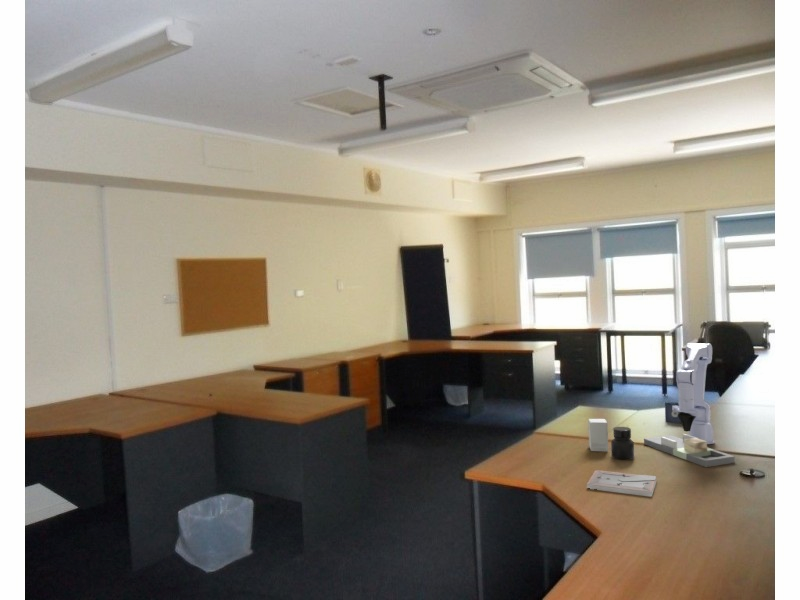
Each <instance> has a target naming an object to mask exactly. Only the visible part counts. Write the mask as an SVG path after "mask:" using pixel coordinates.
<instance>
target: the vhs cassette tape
mask: <svg viewBox="0 0 800 600" xmlns="http://www.w3.org/2000/svg"><path fill="white" fill-rule="evenodd" d="M672 406H679V402H673V401H672V402H671V401H665V402H664V412H665V413H664V417H665V418H664V421H665V423H674V424H682V423H681V420H680V419H679V417H678V414H680V412H678V411H673V410H672ZM694 408H697V407H694ZM705 409H706V408H705Z"/></svg>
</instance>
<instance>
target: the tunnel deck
mask: <svg viewBox="0 0 800 600" xmlns="http://www.w3.org/2000/svg"><path fill="white" fill-rule="evenodd" d="M692 438H696V437H693V436H690V435H689V434H686V433H682V437H681V438H680V437H677V436H675V435H671V434H669V435H668V434H667V435H659V436H654V437H653V436H651V437H644V438H643V445H646V446H649V447H650V448H654V449H656V450H659V451H662V452H664V453H667V454H670V455H672V456H675V457H677V458H680V459H683V460H686V461H687V462H691V463H693V464H696V465H698V466H702V467H704V468H709V467H715V466H721V465H727V464H734V463H735V456H734V455H732V454H729V453H725V452H723V451H720V450H717V449H714V448H710V447H708V446H707V451H705V452H699V453H694V452H691V451H688V450H685V449H684V440H685V439H692ZM698 439H699V438H698Z"/></svg>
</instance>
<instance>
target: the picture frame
mask: <svg viewBox="0 0 800 600" xmlns="http://www.w3.org/2000/svg"><path fill="white" fill-rule="evenodd" d="M657 482H658V481H657V475H656V476H655V475H648V474H635V473H624V472H617V471H606V470H598V469H595V470H594V472H593V474H592V475H591V476H590V478H589V480H588V481H587V483H586V489H587V488H590V489H589V490H594V489H597V490H596V491H603V492H609V493H619V494H627V495H633V496H635V495H636V496H643V497H650V498H651V497H652V496H653V494H654V491H655V489H656V484H657Z"/></svg>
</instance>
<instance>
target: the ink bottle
mask: <svg viewBox="0 0 800 600" xmlns="http://www.w3.org/2000/svg"><path fill="white" fill-rule="evenodd" d="M612 431H613V439H611V443H610V445H611V448H610V449H611V457H612V458H614V459H615V460H621V461H623V460H624V461H629V460H633V459H634V458H635V443H634V441H633V440H632V439H631V438H632V428H630V427H628V426H615V427H613V429H612Z"/></svg>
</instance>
